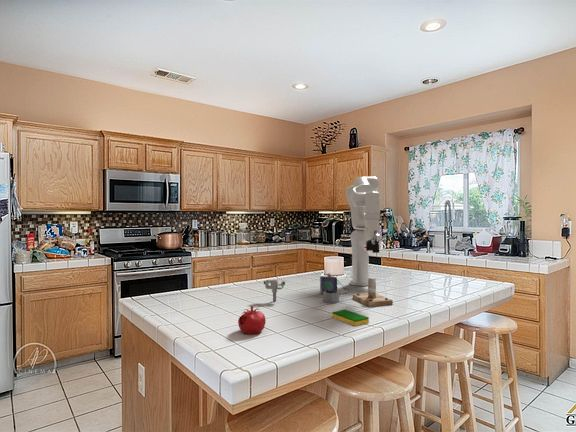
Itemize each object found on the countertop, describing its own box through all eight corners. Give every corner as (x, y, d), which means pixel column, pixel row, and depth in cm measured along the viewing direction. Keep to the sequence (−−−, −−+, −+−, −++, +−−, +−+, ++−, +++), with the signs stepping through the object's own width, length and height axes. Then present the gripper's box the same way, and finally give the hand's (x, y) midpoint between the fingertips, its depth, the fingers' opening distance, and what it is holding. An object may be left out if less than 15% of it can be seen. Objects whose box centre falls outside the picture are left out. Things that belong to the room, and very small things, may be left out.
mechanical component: (284, 302, 169) (284, 281, 169) (263, 301, 171) (263, 281, 171) (285, 301, 172) (285, 280, 172) (265, 300, 174) (264, 279, 174)
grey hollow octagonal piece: (321, 299, 174) (321, 290, 174) (334, 298, 176) (334, 289, 176) (327, 303, 167) (327, 294, 167) (341, 302, 170) (341, 292, 169)
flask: (319, 293, 187) (319, 273, 187) (321, 292, 190) (321, 272, 190) (336, 295, 183) (336, 274, 183) (338, 294, 186) (338, 273, 186)
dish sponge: (345, 315, 150) (345, 309, 150) (369, 323, 139) (369, 317, 139) (332, 317, 147) (332, 311, 147) (355, 326, 135) (355, 320, 135)
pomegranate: (265, 327, 135) (266, 302, 135) (265, 336, 125) (265, 309, 125) (239, 327, 134) (239, 302, 134) (236, 335, 124) (236, 309, 124)
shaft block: (352, 298, 176) (352, 276, 176) (374, 296, 180) (374, 274, 180) (369, 306, 161) (369, 282, 161) (392, 304, 165) (392, 280, 165)
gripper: (359, 216, 185) (360, 250, 185) (370, 216, 168) (370, 253, 168) (374, 216, 185) (374, 249, 185) (385, 216, 168) (386, 253, 168)
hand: (372, 251), depth 176 cm, fingers open, 9 cm apart
